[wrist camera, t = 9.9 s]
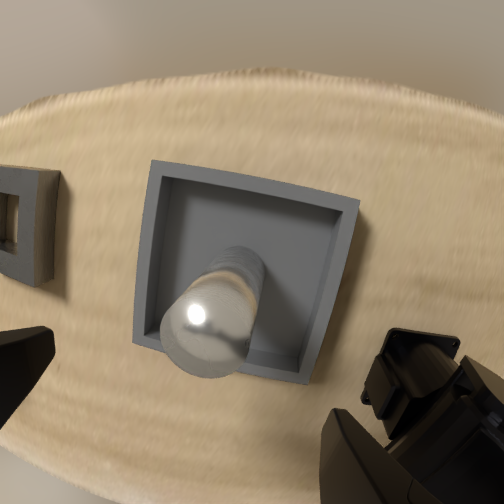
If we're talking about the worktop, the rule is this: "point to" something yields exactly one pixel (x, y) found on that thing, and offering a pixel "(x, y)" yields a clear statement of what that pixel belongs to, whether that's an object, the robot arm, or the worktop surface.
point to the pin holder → (29, 223)
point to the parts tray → (255, 238)
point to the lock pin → (215, 315)
